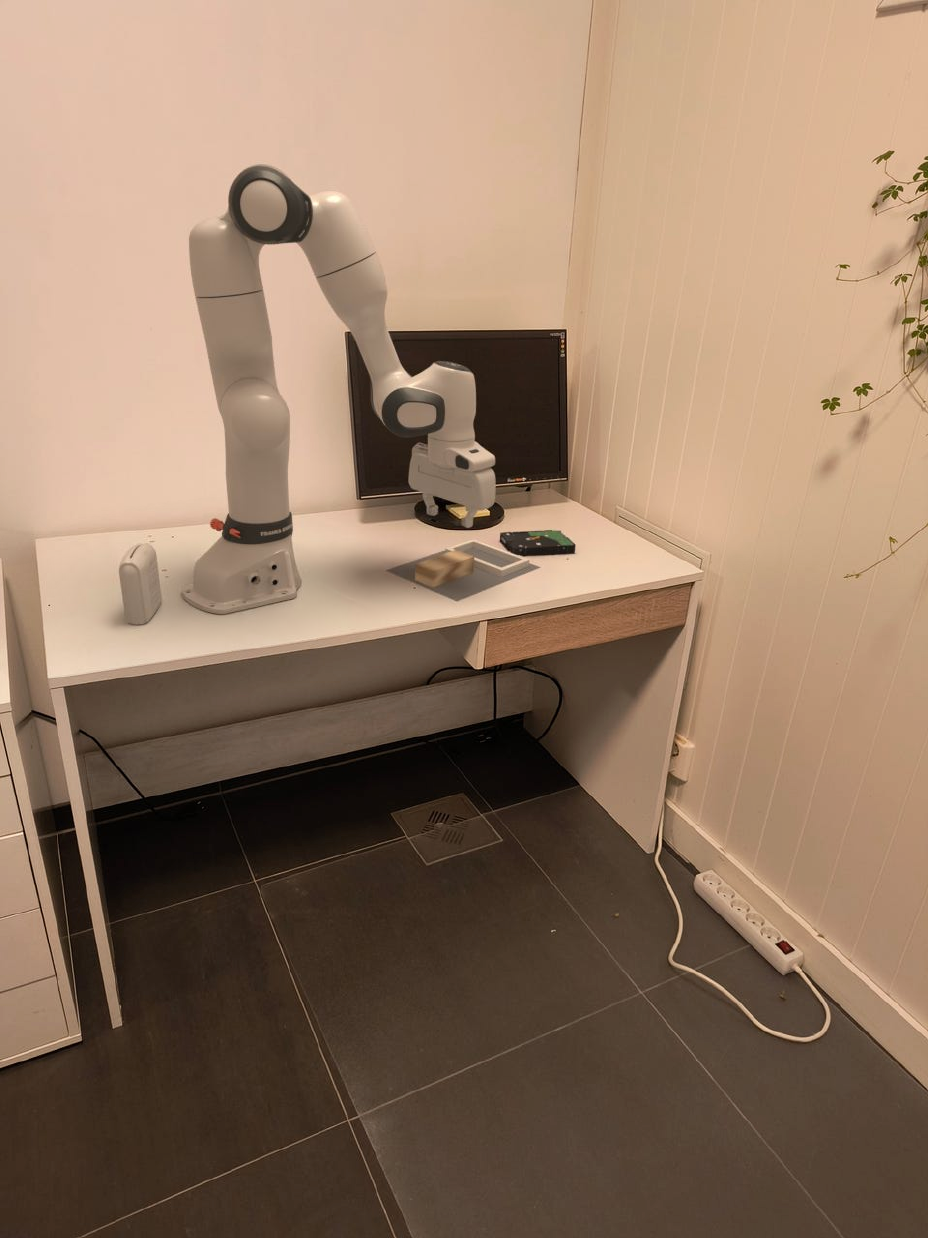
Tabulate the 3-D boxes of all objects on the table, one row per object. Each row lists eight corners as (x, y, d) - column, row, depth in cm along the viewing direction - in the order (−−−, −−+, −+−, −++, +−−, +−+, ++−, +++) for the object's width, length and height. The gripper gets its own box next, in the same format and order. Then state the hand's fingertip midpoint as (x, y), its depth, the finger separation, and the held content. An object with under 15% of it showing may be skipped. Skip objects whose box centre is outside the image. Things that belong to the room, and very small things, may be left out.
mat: (457, 603, 153) (457, 593, 152) (385, 572, 165) (385, 563, 164) (540, 568, 171) (541, 560, 170) (470, 543, 183) (471, 535, 182)
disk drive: (513, 560, 176) (575, 555, 180) (514, 548, 175) (576, 544, 179) (498, 543, 185) (558, 539, 189) (499, 532, 184) (559, 528, 188)
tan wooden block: (432, 587, 158) (433, 571, 157) (414, 579, 161) (415, 563, 160) (473, 572, 166) (474, 556, 165) (455, 565, 169) (456, 549, 168)
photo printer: (141, 600, 147) (132, 536, 142) (165, 601, 148) (157, 537, 142) (122, 625, 138) (112, 558, 133) (148, 626, 138) (139, 559, 133)
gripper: (401, 443, 156) (401, 511, 163) (479, 465, 144) (476, 537, 150) (424, 438, 161) (423, 504, 167) (502, 458, 148) (498, 529, 155)
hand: (449, 520), depth 158 cm, fingers open, 8 cm apart
